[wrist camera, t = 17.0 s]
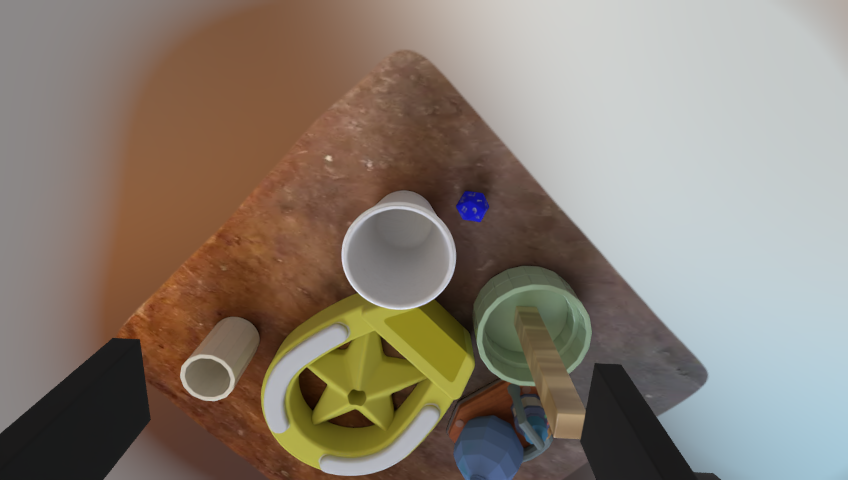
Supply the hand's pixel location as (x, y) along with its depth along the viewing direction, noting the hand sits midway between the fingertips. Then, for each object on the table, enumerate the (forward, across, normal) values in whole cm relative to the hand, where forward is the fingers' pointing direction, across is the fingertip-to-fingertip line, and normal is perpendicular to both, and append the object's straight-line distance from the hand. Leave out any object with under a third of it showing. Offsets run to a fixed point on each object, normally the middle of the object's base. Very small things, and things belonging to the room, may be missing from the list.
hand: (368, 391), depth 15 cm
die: (+32, +6, -2) cm, 33 cm away
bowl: (+32, +12, -12) cm, 36 cm away
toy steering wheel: (+32, -3, -20) cm, 38 cm away
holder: (+32, -16, -17) cm, 39 cm away
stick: (+31, +12, -13) cm, 36 cm away
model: (+32, +12, -25) cm, 42 cm away
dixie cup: (+32, 0, -4) cm, 32 cm away
